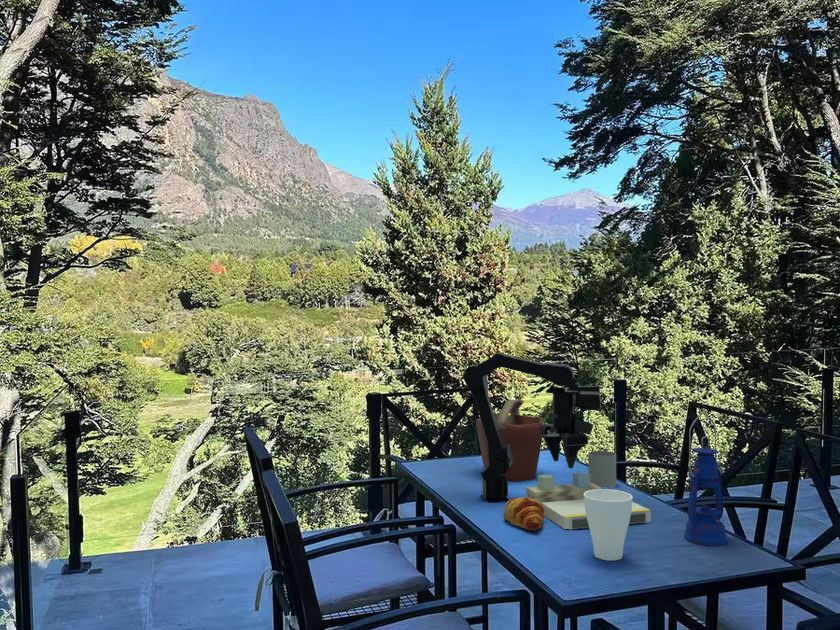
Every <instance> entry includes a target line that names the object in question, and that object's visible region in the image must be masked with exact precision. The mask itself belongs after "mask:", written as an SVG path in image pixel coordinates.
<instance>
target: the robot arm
mask: <svg viewBox="0 0 840 630" xmlns="http://www.w3.org/2000/svg"><path fill="white" fill-rule="evenodd" d="M499 368H504V369H509V370H513V371H517V372H519V373H520V372H521V373H524V374H527V375H528V374H529V375H533V376H537V377H540V378H542V379H544V380H546V381H548V382H550V383H552V384H551V385H550V386H549V387H548V388H547V389H546V390H545V393H546V394H552V411H550V413H549V415H550V416H551V417H552V423H545V424H544V423H543V425H542V426H541V427H540V434H542V435H543V436H542V439H543V440H544V443H545V444H546V446H547V448H548V451H549V453H550V455H551V457H552V459H553V461H554V462H558V461H559V457H560V450H561V449H560V448H561V447H562V449H563V453H564V454H563V455H564V457H565V460H566V464H567V467H568V468H569V469H574V466H575V462H576V459H577V456H578V453H579V452H580V450H581V449H582V448H585V447H586V446H587V445H588V444H589V436H591V434H592V431H593V428H594V424H593V423H590V422H587V421H584V419H583V417H582V416H579V415H578V414H577V412H575V411H574V409H575V407H577V408H579V410H580V411H601V407H602V400H601V398H602V397H601V387H600V385H593V386H591V385H590V386H589V385H588V386H587V385H585V386H583V385H581V384H580V382H579V381H578V380H577V379H576V378H575V372H574V369H573V368H572V367H571V366H570V365H569V364H566V363H550V362H548V363H546V362H539V361H535V360H530V359H526V358H523V357H517V356H514V355H510V354H507V353H504V352H496V353H494V354H493V355H492V356H491V357H488V358H487V359H486V360H483V362H481V363H479V364H473V365H469V366H468V367H466V368H465V369H464V371H463V375H462V377H463V378H462V379H463V380H464V382H465V385H466V387H467V389H468V391H469V392H470V393H471V395H472V396H473V398H474V401H475V405H476V407H477V412H478V415H479V418H480V419H481V422H482V426H483V429H484V432H485V436H486V439H487V443H488V458H489V466H488V467H487V468H486V469H485V470H484V469H483V471H482V472H481V476H482V488H481V489H482V490H481V491H482V494H480V497H481V498H482V499H483V500H485V501H486V503H487V502H488V503H494V502H505V501H507V502H508V501H509V500H510V499H509V482H508V481H506V478H505V477H504V476H503V475H504V474H505V473H506V472H508V470H509V469H510V467H511V465H512V462H513V460H512V459H513V458H514V456H513V454H512V452H511V447H510V444H508V445H505V444H504V442H503V441H502V439H501V436H500V432H499V429H498V426H497V422H496V419H495V415H496V414H495V412H494V409H493V405H492V403H491V398H490V395H489V383H488V380H489V379H488V375H489V374H491V373H493V372H494V371H495V370H497V369H499ZM554 384H555V385H554ZM559 386H560V387H559ZM566 388H568V389H569V390H568V389H567V390H566ZM574 395H575V404H574ZM574 405H575V407H574ZM588 435H589V436H588ZM561 442H562V443H561Z"/></svg>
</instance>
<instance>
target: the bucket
mask: <svg viewBox="0 0 840 630" xmlns="http://www.w3.org/2000/svg"><path fill="white" fill-rule="evenodd" d="M523 404H524V400H523V399H509V400H507V401H505V403H504V405H503V407H502V408H501V410H500V412H499V414H494V415H495V419H496V422H497V426H498V429H499V432H500V436H501V439H502V441H503V442H504V444H505V445H508V444H510V447H511V452H512V454H513V456H514V458H513V459H512V460H513V462H512V465H511V467H510V469H509V470H508V472H506V473H505V474H504V475H503V476H504V477H505V478H506V482H508V483H509V482H512V483H518V482H526V481H527V480H528V481H533V479H534V480H536V478H537V477H536V475H537V471H538V465H539V460H540V453H541V448H542V441H543V437H542V436H543V435H542V434H540V427H541V426H542V425H543V424H544V417H538V416H529V415H521V414H520V411H519V410H520V408H521V407H522V405H523ZM475 422H476V423H475V424H476V425H475V429H476V434H477V440H478V444H479V448H480V453H481V459H482V465H483V468H484V469H483V471H484V470H485V469H486V468H487V467H488V466H489V458H488V443H487V439H486V436H485V432H484V429H483V426H482V422H481V419H480V417H479V418H476V419H475Z"/></svg>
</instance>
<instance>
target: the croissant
mask: <svg viewBox="0 0 840 630" xmlns="http://www.w3.org/2000/svg"><path fill="white" fill-rule="evenodd" d="M503 518H504V520H505V521H508V522H509V521H510V522H509V523H510V524H511V525H513V526H515V527H519V528H522V529H524V530H529V531H537V530H539V529H541V528H542V527H543V525H544V520H545V516H544V508H543V506H542V505H541V504H540V503H539V502H538V501H537V500H534V499H531V498H527V497H512V498H510V499H509V500H508V501H507V502H506V504H505V506H504V514H503Z"/></svg>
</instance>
